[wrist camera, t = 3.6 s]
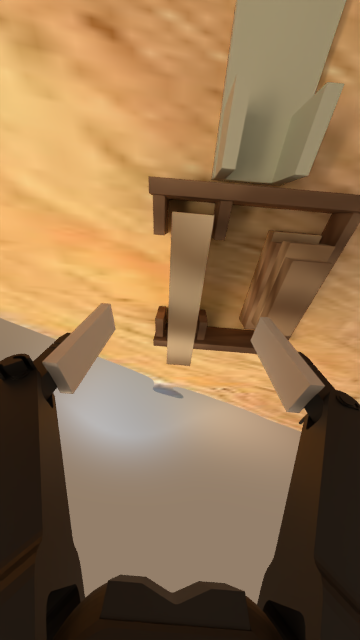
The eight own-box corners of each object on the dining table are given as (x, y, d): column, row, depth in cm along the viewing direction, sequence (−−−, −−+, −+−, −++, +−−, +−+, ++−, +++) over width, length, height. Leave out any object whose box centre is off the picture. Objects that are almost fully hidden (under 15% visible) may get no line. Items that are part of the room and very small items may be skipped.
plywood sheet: (179, 213, 20) (172, 211, 11) (202, 215, 20) (214, 215, 11) (173, 317, 29) (166, 364, 20) (189, 318, 29) (190, 365, 20)
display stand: (260, -180, 9) (332, -567, 5) (394, -166, 9) (595, -536, 5) (211, 179, 18) (219, 167, 14) (279, 185, 18) (310, 175, 14)
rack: (157, 185, 19) (145, 172, 13) (348, 202, 19) (412, 196, 13) (158, 327, 30) (152, 351, 25) (275, 337, 30) (294, 363, 25)
